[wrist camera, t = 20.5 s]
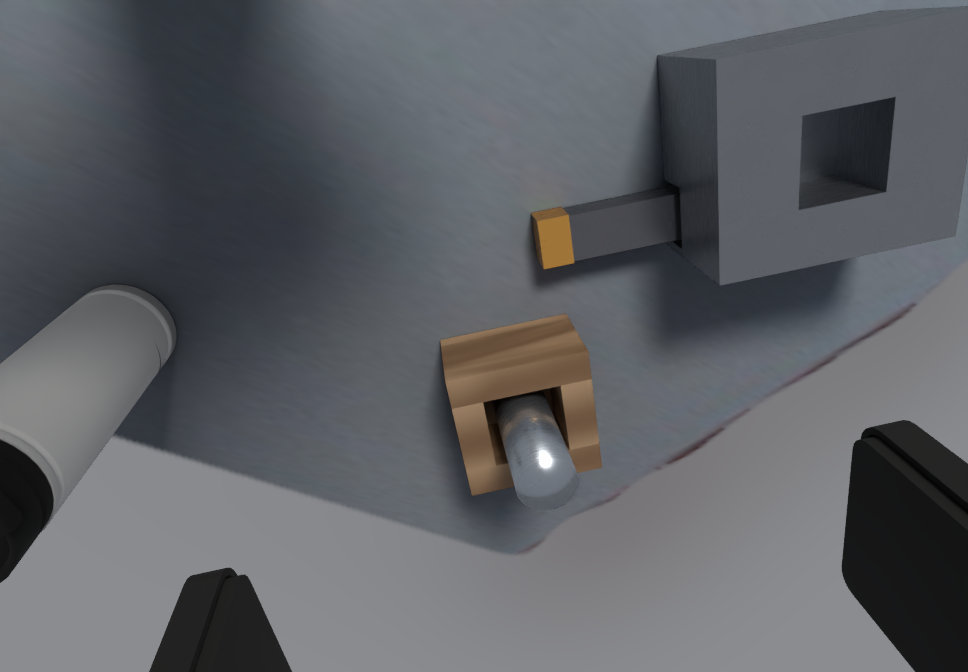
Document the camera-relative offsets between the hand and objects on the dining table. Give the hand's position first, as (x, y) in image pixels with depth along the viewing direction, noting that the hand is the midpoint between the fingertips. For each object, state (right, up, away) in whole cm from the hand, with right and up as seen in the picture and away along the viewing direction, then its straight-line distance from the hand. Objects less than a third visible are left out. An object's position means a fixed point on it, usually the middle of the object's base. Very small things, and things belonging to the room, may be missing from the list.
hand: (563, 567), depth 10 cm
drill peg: (+1, 0, +36) cm, 36 cm away
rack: (+1, 0, +37) cm, 37 cm away
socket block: (+17, +16, +31) cm, 39 cm away
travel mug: (-24, +4, +32) cm, 41 cm away
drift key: (+10, +12, +33) cm, 36 cm away
